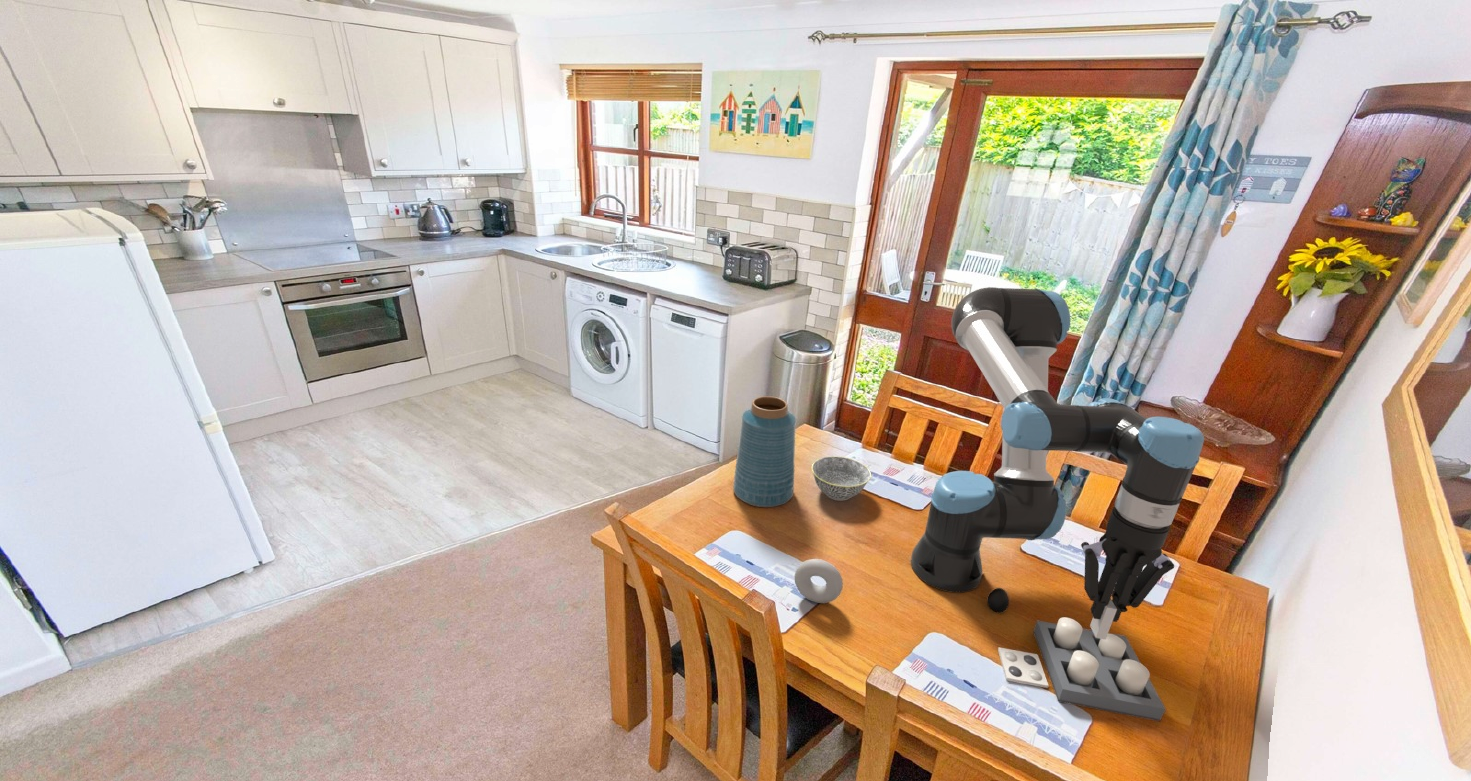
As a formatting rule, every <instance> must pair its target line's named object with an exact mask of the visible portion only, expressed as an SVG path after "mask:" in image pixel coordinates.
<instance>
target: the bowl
mask: <svg viewBox="0 0 1471 781" xmlns="http://www.w3.org/2000/svg"><path fill="white" fill-rule="evenodd" d="M811 473H812V474H813V477H814V481H815V484H816V486H817V487H818V488H819V490H821V492H823V494H825V495H826V497H828V498H829V499H832V500H834V501H839V502H840V501H841V502H842V501H843V502H844V501H848V500H849V499H850V498H851V499H852V498H854V497H855V496H857V495H858V494H860V493H862V491H863V489H864V488H865V486H866V485H867V483H868V482H870V480H871V478H872V473H871V470H870V469H869V467H868V466H866V465H865V464H864V463H863V462H861V461H858V460H856V459H853V458H849V457H845V456H834V455H831V456H830V455H829V456H824V457H821V458H818V459H816V460H815V461H814V462H813V463H812V465H811Z"/></svg>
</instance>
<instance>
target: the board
mask: <svg viewBox="0 0 1471 781" xmlns="http://www.w3.org/2000/svg"><path fill="white" fill-rule="evenodd" d="M1057 624H1058V623H1055V622H1054V623H1053V622H1048V621H1042V620H1036V622H1035V625H1034V629H1033V631H1032V632H1033V635H1034V638H1035V642H1036V644H1037V646H1038V650H1039V652H1040V655H1041V658H1042V660H1043V662H1044V666H1045V668H1046V671H1047V675H1048V677H1049V680H1050V683H1051V686H1052V689H1053V691H1054V694H1055V697H1056V699H1057V702H1059V703H1064V704H1069V705H1073V706H1074V705H1075V706H1079V707H1084V708H1089V709H1094V710H1101V711H1104V712H1105V711H1106V712H1110V713H1115V714H1120V715H1125V716H1130V717H1134V718H1136V717H1137V718H1140V719H1146V720H1151V721H1155V722H1161V719H1162V718H1163V715H1164V713H1165V711H1166V707H1165V705H1164V703H1163V701H1162V699H1161V698H1160V696H1159V694H1158V692H1157V690H1156V689H1155V686H1154V685H1153V683H1152V681H1151V679H1150V677H1149V678H1148V681H1147V683H1146V685H1145V687H1144V689H1143V692H1142V694H1141V695H1138V696H1134V695H1130V694H1128V693H1126V692H1124V691H1123V690H1121V689H1120V688H1119V687H1118V685H1117V684H1116V681H1115V679H1116V677H1117V674H1118V672H1119V670H1120V667H1121V665H1122V662H1123V661H1124V660H1126V659H1130V660H1134V661H1137V662H1139V663H1141V661H1140V660H1139V657H1138V655H1137V654H1136V653H1135V652H1136V651H1135V650H1134V649H1133V646H1132V645H1131V643H1130V641H1129V639H1128V638H1127V636H1126V635H1123V634H1118V633H1117V634H1116V633H1111V632H1108V633H1109V634H1113V635H1116V636H1118V637H1119V638H1121V639H1122V640H1123V641H1124V642H1125V644H1126V650H1125V652H1124V654H1123V657H1122V659H1115V658H1110V657H1104V656H1102V655H1101V653H1100V651H1099V649H1098V644H1099V641H1100V638H1096V637H1095V635H1094V633H1093V631H1092V629H1089V628H1083V627H1082V629H1083V631H1082V634H1081V636H1080V639H1079V642H1078V644H1077V647H1076V649H1074V650H1067V649H1064V648H1062V647H1060V646H1059V645H1057V644H1056V643H1055V641H1054V639H1053V635H1054V633H1055V630H1056V627H1057ZM1077 650H1081V651H1085V652H1087V653H1089V654H1091V655H1092V656H1094V657H1095V658H1096V659H1097V661H1098V663H1099V667H1098V669H1097V672H1096V674H1095V677H1094V679H1093V682H1092V684H1091V685H1089V686H1082V685H1079V684H1077V683H1075V682H1074V681H1072V680H1071V679H1070V678H1069V676H1068V675H1067V668H1068V666H1069V663H1070V660H1071V658H1072V655H1073V653H1074V652H1075V651H1077Z"/></svg>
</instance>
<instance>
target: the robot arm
mask: <svg viewBox="0 0 1471 781" xmlns="http://www.w3.org/2000/svg"><path fill="white" fill-rule="evenodd" d="M950 324H951V325H950V326H951V331H952V335H953V336H954V339H955V340H956V342H957V343H958V345H959V346H960V347H961V348H963V349H964V350H967V351H968V352H969V353H970V355H971V357H972V358H973V360H974V362H975V363H976V365H977V366H978V368H979V369H980V371H981V374H983V376H984V378H985V380H986V381H987V383H988V384H989V386H990V388H991V389H992V391H993V392H994V394H995V396H996V398H997V400H998V401H999V402H1000V404H1001V405H1002V407H1003V408H1002V415H1001V418H1000V429H1001V430H1002V434H1001V435H1002V442H1001V443H1002V444H1001V447H1002V450H1001V455H1002V456H1001V467H1000V468H998V470H997V471H995V472H994V474H993V480H991V479H990V478H989V477H988V476H985V475H984V474H981V473H976V472H975V471H969V470H956V471H950V472H947V473H945V474H944V475H942V476H941V477H940V478H938V480H937V481H936V483H935V485H934V489H933V491H932V494H931V498H930V499H931V500H930V501H931V502H930V507H929V511H928V515H927V522H926V525H925V531H924V533H923V535H922V536H921V537H920V539H919V540H918V542H917V543H916V545H915V546H914V548H913V550H912V553H911V557H910V565H911V568H912V570H913V572H914V573H915V574H916V575H917V576H918V578H920V580H922V581H924V582H925V583H926V584H927V585H929V586H932V587H934V588H936V589H938V590H941V591H944V592H951V593H967V592H970V591H973V590H974V589H977V587H978V586H979V584H980V583H981V580H982V575H983V565H982V564H983V563H982V558H981V557H982V556H981V551H980V549H981V545H982V541H983V538H990V539H991V538H995V539H1016V540H1018V539H1019V540H1028V541H1036V540H1049V539H1051V538H1052V539H1053V537H1055V536H1056V535H1057V533H1059V532H1060V531H1061V529H1062V528H1063V526H1064V523H1065V521H1066V516H1067V501H1066V499H1065V498H1064V497H1065V495H1064V493H1063V491H1062V490H1061V488H1060V487H1058V486H1056V485H1055V478H1054V477H1053V476H1052V475H1051V474H1050V473H1049V471H1047V451H1058V452H1060V451H1062V452H1082V453H1083V452H1084V453H1085V452H1086V453H1103V454H1104V453H1105V454H1106V453H1107V454H1111V456H1113V457H1114V458H1116V460H1118V461H1119V462H1121V463H1122V464H1124V465H1126V470H1125V473H1124V476H1123V478H1122V482H1121V485H1120V487H1119V490H1118V493H1117V496H1116V498H1115V502H1114V507H1113V508H1112V509H1111V513H1110V516H1109V518H1108V522H1107V524H1106V529H1105V533H1104V534H1103V535H1101V536H1100V538H1099V540H1098V542H1094V543H1089V542H1087V541H1084V542H1082V543H1081V544H1080V546H1081V549H1082V550H1083V553H1084V583H1083V584H1084V586H1083V587H1084V588H1083V589H1084V591H1085V593H1086V595H1087V597H1088V599H1089V600H1090V601H1091V602H1092V604H1091V607H1090V614H1091V615H1092V620H1091V622H1090V624H1089V628H1091V629H1090V630H1092V631H1093V633H1094V635H1095V637H1096V638H1100V639H1106V637H1107V634H1108V633H1110V629H1111V626H1112V624H1113V622H1114V623H1117V622H1118V621H1119V619H1120V616H1121V615H1122V613H1126V612H1127V611H1128V608H1127V607H1129V606H1130V607H1132V608H1134V609H1136V608H1139V607H1140V605H1141V604H1142V602H1143V601H1145V599H1146V597H1147V596H1148V595H1149V594H1150V593H1151V591H1152V590H1153V588H1155V586H1156V585H1157V583H1158V582H1159V581H1160V580H1161V578H1162V577H1163V576H1164V575H1165V574H1167V573H1169V572H1170V571H1172V570H1173V569H1174V568H1175V564H1174V563H1173V562H1172V560H1171V558H1169V557H1168V555H1167V554H1166V553H1163V550H1162V548H1163V546H1164V545H1165V542H1166V539H1167V537H1168V535H1169V532H1170V530H1171V526H1170V525H1172V523H1173V521H1174V518H1175V516H1176V514H1177V512H1178V509H1179V507H1180V504H1181V502H1182V499H1183V497H1184V494H1185V492H1186V490H1187V487H1188V484H1189V482H1190V480H1191V477H1192V476H1193V473H1194V470H1195V468H1196V466H1197V465H1198V463H1199V462H1200V456H1201V452H1202V448H1203V445H1204V441H1205V437H1204V434H1203V432H1202V431H1201V430H1200V429H1199V428H1198V427H1196V426H1195V425H1193V424H1191V423H1186V422H1183V421H1182V420H1180V419H1176V418H1173V417H1168V416H1151V417H1148V418H1147V417H1145V416H1144V415H1142V414H1141V413H1139V412H1138V411H1137V410H1135V408H1133V407H1132V406H1130V405H1127V404H1126V403H1123V402H1120V401H1119V400H1116V399H1113V398H1110V397H1109V398H1107V397H1104V398H1100V399H1098V400H1095V401H1091V402H1090V403H1089V404H1087V405H1077V404H1060V403H1058V402H1057V401H1056V400H1055V398H1054V397H1053V396H1052V394H1050V392H1049V359H1050V358H1051V356H1052V355H1054V354H1055V353H1057V350H1058V349H1057V348H1058V345H1059V344H1061V343H1063V341H1065V339H1066V338H1067V336H1068V332H1069V331H1070V329H1071V312H1070V308H1069V305H1068V304H1067V302H1066V300H1065V298H1063V297H1062V295H1060V293H1058V292H1056V291H1053V290H1044V289H1043V290H1042V289H1041V288H1010V287H1009V288H1007V287H1004V288H1003V287H991V286H989V287H983V288H979V289H976V290H973V291H971V292H969V293H968V294H967V295H966V296H964V297H963V298H962V299H961V300H960V301H959V302H958V303H957V305H956V307H955V308H954V310H953V313H952V316H951V323H950ZM1102 551H1103V553H1104V555H1105V565H1104V567H1103V569H1102V571H1101V575H1100V578H1099V571H1100V566H1099V565H1100V564H1099V559H1100V558H1101V554H1102Z"/></svg>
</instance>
